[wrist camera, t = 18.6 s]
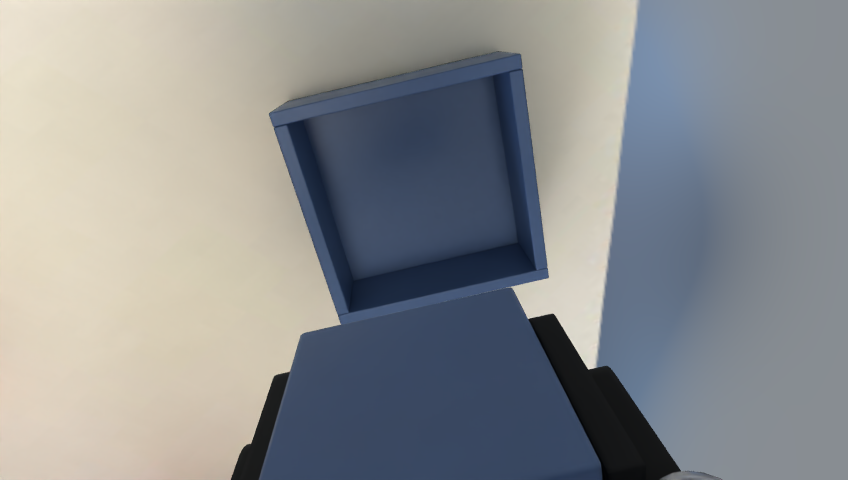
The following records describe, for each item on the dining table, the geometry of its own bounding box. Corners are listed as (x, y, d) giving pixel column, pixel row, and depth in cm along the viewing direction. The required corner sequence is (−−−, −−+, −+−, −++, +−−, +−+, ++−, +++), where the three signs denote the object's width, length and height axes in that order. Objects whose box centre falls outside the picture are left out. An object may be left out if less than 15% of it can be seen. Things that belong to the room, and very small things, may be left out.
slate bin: (287, 101, 23) (268, 113, 20) (499, 50, 23) (520, 53, 19) (347, 286, 28) (341, 325, 24) (526, 245, 27) (549, 278, 24)
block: (299, 332, 10) (236, 543, 6) (511, 284, 10) (604, 464, 6) (356, 482, 12) (341, 726, 8) (537, 443, 12) (620, 669, 7)
